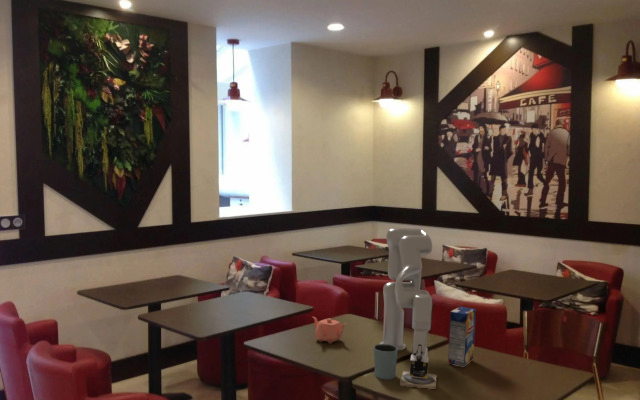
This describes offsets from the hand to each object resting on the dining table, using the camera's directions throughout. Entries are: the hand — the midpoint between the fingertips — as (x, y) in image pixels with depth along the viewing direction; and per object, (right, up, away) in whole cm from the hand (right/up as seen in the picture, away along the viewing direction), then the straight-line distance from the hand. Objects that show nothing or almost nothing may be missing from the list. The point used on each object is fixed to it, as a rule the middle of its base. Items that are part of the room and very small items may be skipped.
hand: (419, 366), depth 240 cm
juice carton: (+23, -5, +25) cm, 34 cm away
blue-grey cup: (-14, -5, +6) cm, 16 cm away
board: (0, -6, 0) cm, 6 cm away
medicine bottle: (0, -3, 0) cm, 4 cm away
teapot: (-37, -1, +49) cm, 61 cm away
